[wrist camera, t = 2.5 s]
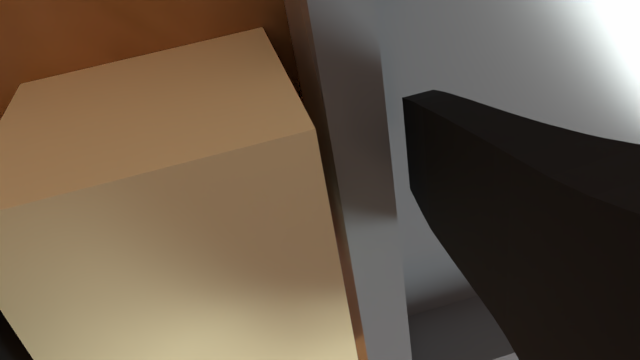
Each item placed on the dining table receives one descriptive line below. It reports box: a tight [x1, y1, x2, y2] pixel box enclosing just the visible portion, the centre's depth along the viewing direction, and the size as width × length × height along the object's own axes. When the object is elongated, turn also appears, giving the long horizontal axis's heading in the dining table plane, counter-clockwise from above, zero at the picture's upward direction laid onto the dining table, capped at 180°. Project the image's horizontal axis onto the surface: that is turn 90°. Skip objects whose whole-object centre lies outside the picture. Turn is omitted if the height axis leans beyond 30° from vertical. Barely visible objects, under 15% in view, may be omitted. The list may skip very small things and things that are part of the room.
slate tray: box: [284, 0, 640, 360], centre depth 12 cm, size 12×14×2 cm
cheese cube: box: [0, 27, 358, 360], centre depth 10 cm, size 4×4×4 cm
